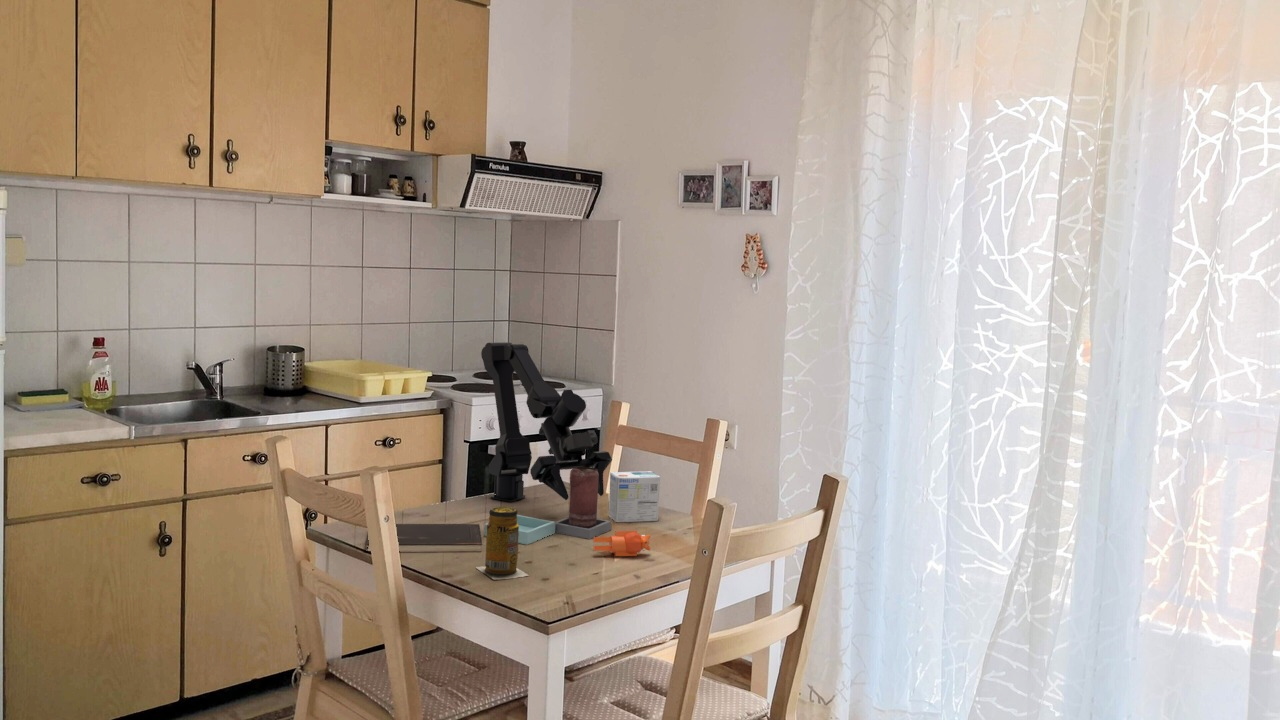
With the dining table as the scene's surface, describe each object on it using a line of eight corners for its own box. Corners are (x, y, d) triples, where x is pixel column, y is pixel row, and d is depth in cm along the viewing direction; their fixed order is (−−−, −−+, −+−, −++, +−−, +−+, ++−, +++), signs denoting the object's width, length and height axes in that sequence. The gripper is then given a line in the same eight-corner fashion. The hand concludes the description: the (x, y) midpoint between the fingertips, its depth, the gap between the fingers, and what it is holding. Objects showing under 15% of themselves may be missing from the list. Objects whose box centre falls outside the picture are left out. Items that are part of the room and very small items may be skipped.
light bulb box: (649, 514, 245) (652, 470, 244) (659, 521, 239) (661, 476, 238) (607, 515, 242) (609, 471, 241) (615, 523, 236) (617, 477, 235)
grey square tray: (551, 531, 225) (552, 523, 225) (574, 523, 234) (574, 514, 233) (589, 539, 221) (589, 530, 221) (610, 529, 229) (611, 521, 229)
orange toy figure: (595, 530, 206) (653, 530, 209) (589, 532, 213) (645, 532, 216) (596, 556, 205) (654, 555, 208) (589, 557, 212) (646, 556, 215)
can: (563, 528, 229) (566, 466, 227) (589, 526, 231) (592, 465, 230) (573, 535, 223) (576, 472, 222) (600, 533, 226) (603, 471, 224)
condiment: (510, 564, 200) (512, 504, 199) (529, 576, 193) (531, 514, 192) (475, 568, 196) (477, 507, 195) (493, 581, 189) (495, 517, 188)
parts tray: (484, 536, 219) (484, 524, 219) (513, 525, 229) (513, 514, 228) (527, 544, 214) (527, 532, 214) (555, 533, 224) (555, 521, 224)
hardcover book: (481, 554, 207) (482, 543, 207) (364, 555, 203) (365, 543, 203) (478, 533, 223) (479, 523, 223) (370, 533, 219) (370, 523, 218)
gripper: (538, 420, 223) (563, 479, 215) (609, 416, 234) (635, 472, 226) (519, 449, 230) (542, 508, 222) (589, 444, 241) (613, 500, 233)
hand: (584, 496), depth 226 cm, fingers open, 9 cm apart
